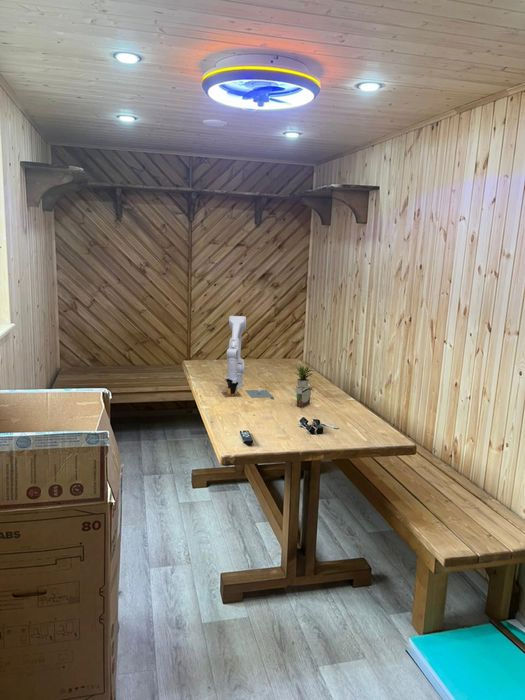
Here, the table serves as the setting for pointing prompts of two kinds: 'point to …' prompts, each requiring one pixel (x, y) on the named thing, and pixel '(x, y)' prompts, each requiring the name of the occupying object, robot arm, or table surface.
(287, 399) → the table surface
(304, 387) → the food container
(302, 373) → the house plant
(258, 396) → the board
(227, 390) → the collar
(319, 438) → the table surface
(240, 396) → the stand
